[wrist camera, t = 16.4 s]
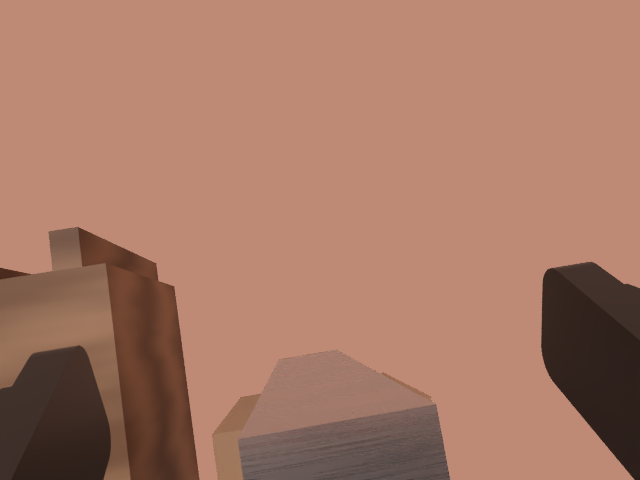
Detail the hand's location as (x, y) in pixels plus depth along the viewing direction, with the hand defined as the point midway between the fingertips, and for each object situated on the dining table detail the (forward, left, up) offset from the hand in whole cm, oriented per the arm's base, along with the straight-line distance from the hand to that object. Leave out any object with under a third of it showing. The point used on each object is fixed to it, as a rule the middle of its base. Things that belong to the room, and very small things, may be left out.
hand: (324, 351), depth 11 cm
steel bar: (-4, +11, -4) cm, 12 cm away
